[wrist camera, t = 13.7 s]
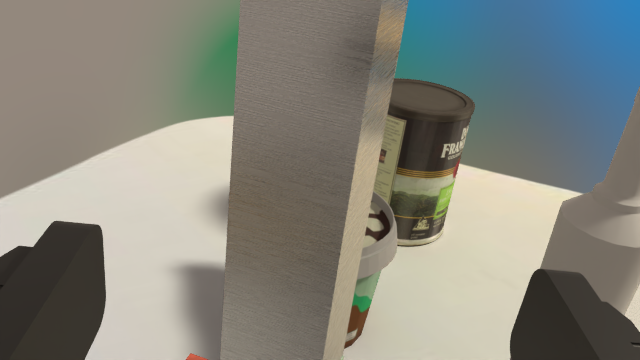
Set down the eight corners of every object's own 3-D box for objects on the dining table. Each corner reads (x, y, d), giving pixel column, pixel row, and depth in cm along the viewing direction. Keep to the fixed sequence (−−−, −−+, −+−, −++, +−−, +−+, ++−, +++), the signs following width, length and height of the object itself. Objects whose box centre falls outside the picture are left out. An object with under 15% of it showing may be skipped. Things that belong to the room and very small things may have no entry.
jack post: (356, 420, 27) (478, -150, 16) (329, 496, 23) (462, -167, 13) (232, 374, 28) (271, -173, 18) (189, 439, 25) (206, -194, 14)
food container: (405, 358, 44) (433, 248, 39) (328, 371, 42) (348, 256, 37) (347, 262, 54) (364, 166, 49) (283, 269, 52) (294, 169, 47)
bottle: (523, 475, 36) (688, 88, 24) (469, 411, 40) (590, 53, 28) (581, 450, 38) (757, 85, 27) (525, 391, 42) (657, 52, 31)
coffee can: (453, 215, 64) (485, 94, 58) (427, 258, 56) (460, 123, 50) (368, 187, 68) (389, 70, 62) (331, 224, 60) (351, 93, 53)
